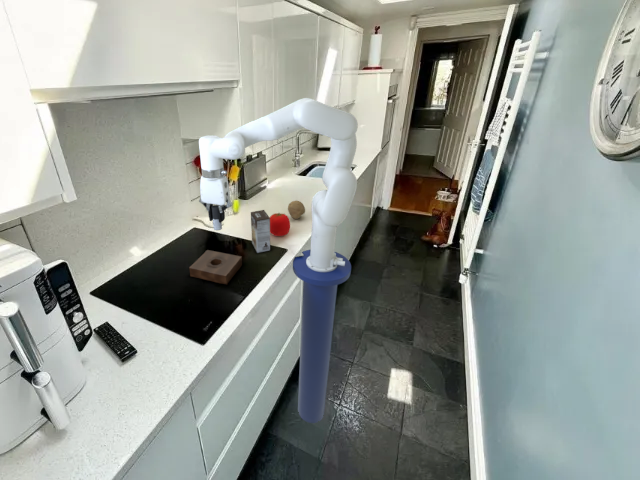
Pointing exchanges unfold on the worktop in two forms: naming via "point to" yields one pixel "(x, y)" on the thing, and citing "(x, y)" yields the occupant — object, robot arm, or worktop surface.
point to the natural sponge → (296, 209)
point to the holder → (216, 267)
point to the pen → (216, 218)
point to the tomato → (279, 224)
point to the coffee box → (260, 230)
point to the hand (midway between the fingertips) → (217, 219)
